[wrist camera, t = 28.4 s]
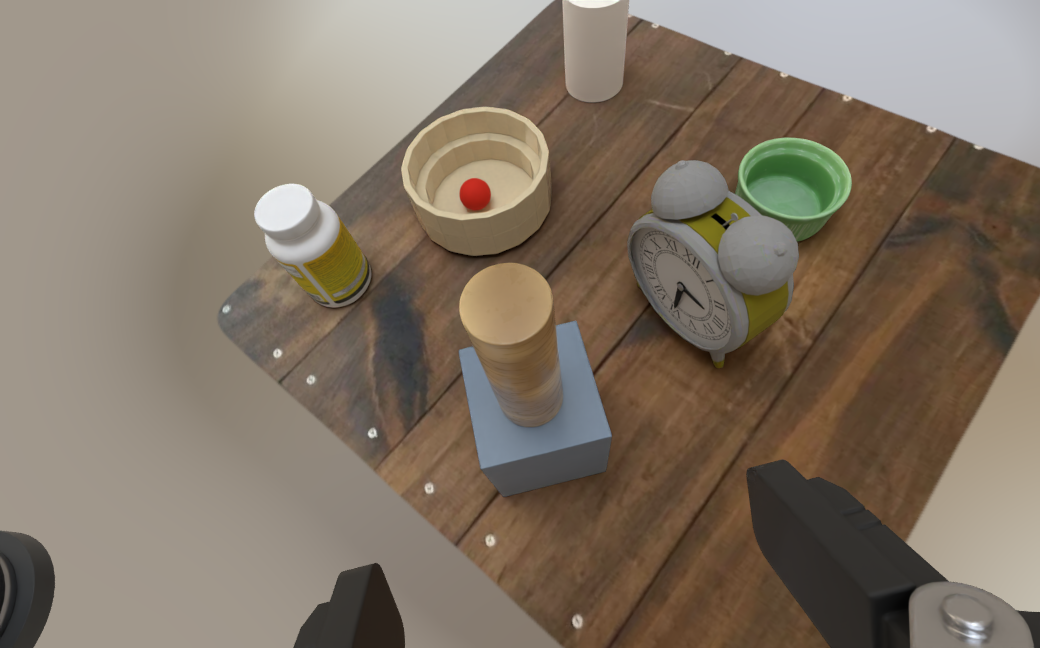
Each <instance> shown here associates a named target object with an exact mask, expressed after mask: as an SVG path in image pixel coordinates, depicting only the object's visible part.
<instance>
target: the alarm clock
mask: <svg viewBox="0 0 1040 648" xmlns="http://www.w3.org/2000/svg"><path fill="white" fill-rule="evenodd" d="M651 203H652V210H650V211H649V212H647V213H646V214H644V215H643V216H641V217H640V218H639V219H638V220H637V221H636V222H635V223H634V225H633V226H632V228H631V231H630V234H629V238H628V256H629V260H630V263H631V266H632V269H633V272H634V275H635V278H636V280H637V286H638V287H639V288H641V289H642V291H643V293H644V294H645V296H646V297H647V299H648V300H649V302H650V304H651V305H652V307H653V308H654V310H655V311H656V312H657V313H658V314H659V316H660V317H661V318H662V319H663V320H664V321H665V322H666V324H668V325H669V326H670V327H671V328H672V329H673V330H674V331H675V332H676V333H677V334H678V335H679V336H681V337H682V338H683V339H684V340H686V341H688V342H689V343H691V344H693V345H694V346H696V347H698V348H699V349H701V350H704V351H708V352H710V355H711V358H712V361H713V363H714V366H715V367H716V368H722V367H723V365H724V359H725V358H724V357H725V353H728V352H731V351H734V350H735V349H738V348H740V347H742V346H743V345H744V344H746V343H747V342H749V341H750V340H751V339H753V338H754V337H755V336H757V335H758V334H759V333H761V332H762V331H764V330H765V329H766V328H768V327H769V326H770V325H772V324H773V323H774V322H776V321H777V320H778V319H779V318H780V317H781V316H782V315H783V313H784V312H785V311H786V310H787V309H788V307H789V305H790V302H791V300H792V294H793V288H794V282H793V272H794V271H795V270H796V266H797V262H798V258H799V253H798V243H797V241H796V239H795V237H794V235H793V233H792V231H791V230H790V229H789V228H788V227H786V226H785V225H784V224H783V223H782V222H780V221H778V220H775V219H774V218H770V217H768V216H762V215H761V214H760V213H759V212H758V211H757V210H756V209H754V208H753V207H752V206H751V205H750V204H749V203H747V202H746V201H745V200H743V199H742V198H741V197H739V196H738V195H736V194H734V193H732V192H730V191H728V186H727V184H726V181H725V179H724V177H723V176H722V175H721V173H720V172H719V171H718V170H717V169H716V168H714V167H713V166H711V165H710V164H708V163H705V162H701V161H697V160H692V161H684V160H683V161H679V162H678V163H677V164H675V165H673V166H671V167H669V168H668V169H667V170H666V171H665V172H664V173H663V174H662V175H661V176H660V177H659V178H658V180H657V182H656V184H655V186H654V189H653V192H652V196H651Z"/></svg>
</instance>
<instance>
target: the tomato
mask: <svg viewBox="0 0 1040 648" xmlns="http://www.w3.org/2000/svg"><path fill="white" fill-rule="evenodd" d="M459 195H460V200H461V202H462V204H463V205H464V206H465V207H467V208H468V209H470V210H481V209H483V208H484V207H486V206H487V204H488V203H489V201H490V198H491V191H490V188H489V186H488V184H487V183H486V182H485V181H483V180H481V179H478V178H471V179H468V180H467V181H465V182H464V183H463V184H462V186H461V188H460V192H459Z"/></svg>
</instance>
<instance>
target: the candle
mask: <svg viewBox="0 0 1040 648" xmlns="http://www.w3.org/2000/svg"><path fill="white" fill-rule="evenodd" d="M628 9H629V0H563V26H564V53H565V80H566V88H567V91H568V92H569V94H570V95H571V96H573V97H574V98H576V99H578V100H580V101H584V102H601V101H605V100H608V99H610V98H612V97H613V96H615V95H616V94H617V93H618V92H619V91H620V90H621V88H622V86H623V75H624V62H625V49H626V35H627V22H628Z"/></svg>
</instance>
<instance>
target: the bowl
mask: <svg viewBox="0 0 1040 648" xmlns="http://www.w3.org/2000/svg"><path fill="white" fill-rule="evenodd" d="M401 170H402V177H403V183H404V188H405V190H406V193H407V195H408V197H409V199H410V202H411V204H412V206H413V208H414V211H415V213H416V215H417V218H418V220H419V222H420V224H421V226H422V227H423V229H424V230H425V232H426V233H427V234H428V236H429V237H430V239H431V240H433V241H434V242H436V243H437V244H439V245H441V246H442V247H444V248H446V249H447V250H449V251H452V252H457V253H461V254H466V255H471V256H478V255H488V254H497V253H500V252H503V251H505V250H507V249H510V248H512V247H515V246H517V245H520V244H521V243H522V242H524V241H525V240H526V239H527V238H528V237H530V236H531V235H532V234H533V233H534V232H536V231H537V230H538V229H539V228H540V226H541V224H542V223H543V221H544V219H545V218H546V216H547V214H548V213H549V210H550V204H551V196H552V185H551V174H550V161H549V151H548V148H547V145H546V142H545V139H544V136H543V134H542V132H541V131H540V130H539V129H538V128H537V127H536V126H535V125H534V124H533V123H532V122H531V121H530V120H529V119H528V118H525V117H523V116H521V115H519V114H517V113H515V112H513V111H510V110H507V109H500V108H492V107H478V108H470V109H462V110H459V111H456V112H454V113H451V114H449V115H446V116H443V117H441V118H438V119H437V120H436V121H434V122H433V123H431V124H430V125H429V126H427V127H426V128H424V129H423V130H422V131H420V132H419V134H418V135H417V136H416V138H415V139H414V140H413V142H412V143H411V144H410V146H409V147H408V148H407V150H406V154H405V157H404V161H403V164H402V167H401ZM471 178H478V179H481V180H483V181H485V182H486V183H487V184H488V186H489V188H490V191H491V198H490V201H489V203H488V204H487V206H486V207H484V208H483V209H481V210H470V209H468V208H467V207H465V206H464V205H463V204H462V202H461V200H460V195H459V192H460V188H461V186H462V184H463V183H464V182H465V181H467V180H468V179H471Z"/></svg>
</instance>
